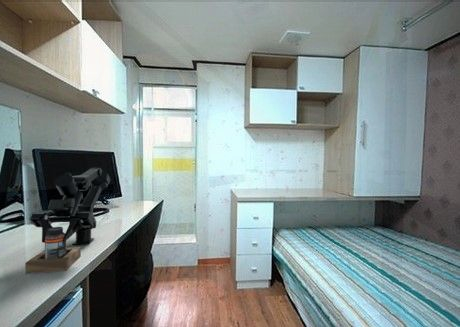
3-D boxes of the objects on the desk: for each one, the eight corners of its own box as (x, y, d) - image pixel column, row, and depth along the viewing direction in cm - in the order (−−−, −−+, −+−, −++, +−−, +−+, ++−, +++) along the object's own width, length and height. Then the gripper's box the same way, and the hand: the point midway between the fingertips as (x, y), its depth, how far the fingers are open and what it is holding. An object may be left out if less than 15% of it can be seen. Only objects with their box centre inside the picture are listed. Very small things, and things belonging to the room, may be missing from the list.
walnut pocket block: (45, 258, 84) (45, 249, 84) (80, 256, 86) (80, 247, 86) (25, 273, 72) (25, 262, 72) (66, 270, 75) (66, 259, 75)
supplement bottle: (52, 257, 82) (52, 225, 82) (70, 257, 83) (70, 225, 83) (40, 264, 76) (40, 230, 76) (58, 264, 77) (59, 230, 77)
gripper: (32, 190, 81) (8, 231, 71) (90, 190, 85) (76, 229, 74) (46, 208, 89) (26, 247, 79) (98, 207, 93) (86, 244, 82)
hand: (53, 241), depth 78 cm, fingers closed on supplement bottle, 6 cm apart
